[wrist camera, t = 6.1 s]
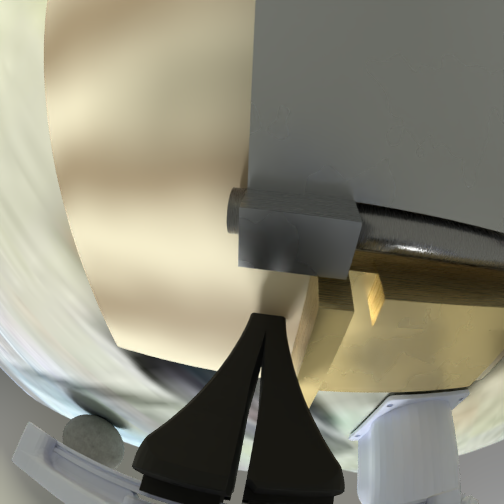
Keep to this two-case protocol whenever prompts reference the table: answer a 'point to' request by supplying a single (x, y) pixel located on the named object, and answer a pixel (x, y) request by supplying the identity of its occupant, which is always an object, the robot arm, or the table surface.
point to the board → (162, 170)
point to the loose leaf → (398, 326)
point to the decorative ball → (95, 440)
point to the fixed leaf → (373, 134)
